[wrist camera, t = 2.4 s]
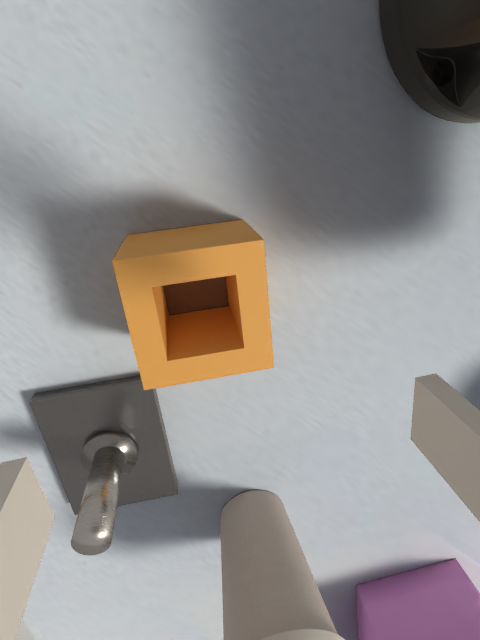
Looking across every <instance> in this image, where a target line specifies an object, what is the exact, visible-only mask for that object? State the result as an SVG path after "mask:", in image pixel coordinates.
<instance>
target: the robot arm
mask: <svg viewBox="0 0 480 640" xmlns="http://www.w3.org/2000/svg"><path fill="white" fill-rule="evenodd" d="M380 19H381V28H382V34H383V39H384V44H385V48H386V51H387V54H388V58H389V60H390V63H391V65H392V68H393V70H394V72H395V74H396V76H397V78H398V80H399V81H400V83H401V85H402V86H403V87H404V89H405V90H406V92H407V93H408V94H409V95H410V96H411V97H412V98H413V99H414V101H415V102H416V103H418V104H419V105H420V106H421V107H422V108H424V109H425V110H427V111H428V112H430V113H432V114H433V115H435V116H438V117H440V118H442V119H446V120H449V121H453V122H460V123H478V122H480V0H380ZM411 440H412V441H413V442H414V444H415V445H416V446H417V447H418V448H419V450H420V451H421V452H422V453H423V454H424V456H425V457H426V458H427V459H428V460H429V462H430V463H431V464H432V465H433V466H434V468H435V469H436V470H437V471H438V472H439V474H440V475H441V476H442V477H443V478H444V480H445V481H446V482H447V483H448V484H449V486H450V487H451V488H452V489H453V490H454V492H455V493H456V494H457V495H458V496H459V498H460V499H461V500H462V501H463V502H464V504H465V505H466V506H467V507H468V508H469V510H470V511H471V512H472V513H473V514H474V516H475V517H476V518H477V519H478V520H479V522H480V410H479V409H478V408H476V407H475V406H474V405H473V404H472V403H470V402H469V401H468V400H467V399H466V398H464V397H463V396H462V395H461V394H460V393H458V392H457V391H456V390H455V389H454V388H452V387H451V386H450V385H449V384H448V383H447V382H445V381H444V380H443V379H442V378H441V377H439V376H438V375H437V374H432V375H427V376H422V377H417V378H415V389H414V402H413V415H412V428H411ZM54 519H55V516H54V514H53V512H52V510H51V508H50V506H49V504H48V502H47V499H46V497H45V495H44V493H43V491H42V489H41V487H40V485H39V482H38V480H37V478H36V476H35V474H34V472H33V470H32V468H31V465H30V463H29V461H28V459H27V457H26V458H21V459H16V460H12V461H7V462H2V463H1V465H0V640H15V638H16V635H17V632H18V629H19V626H20V623H21V620H22V617H23V614H24V611H25V608H26V605H27V602H28V598H29V595H30V592H31V589H32V586H33V583H34V580H35V577H36V574H37V571H38V568H39V565H40V562H41V559H42V556H43V553H44V550H45V546H46V543H47V540H48V537H49V534H50V531H51V528H52V525H53V522H54Z"/></svg>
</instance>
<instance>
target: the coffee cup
mask: <svg viewBox="0 0 480 640" xmlns="http://www.w3.org/2000/svg"><path fill="white" fill-rule="evenodd" d="M220 527H221V560H222V594H223V631H224V640H345V639H344V638H342V637H341V636H339V635H338V634H337V632H336V629H335V627H334V625H333V622H332V620H331V618H330V615H329V613H328V611H327V608H326V606H325V603H324V601H323V599H322V596H321V594H320V592H319V589H318V587H317V584H316V582H315V580H314V577H313V575H312V573H311V570H310V568H309V565H308V563H307V561H306V558H305V556H304V553H303V551H302V549H301V546H300V544H299V541H298V539H297V537H296V534H295V532H294V529H293V527H292V525H291V522H290V520H289V517H288V515H287V513H286V510H285V508H284V505H283V503H282V501H281V500H280V498H279V497H278V496H276V495H275V494H273V493H271V492H268V491H264V490H252V491H247V492H244V493H241V494H239V495H237V496H235V497H234V498H232V499H231V500H230V501H229V502H228V503H227V504H226V505H225V506H224V508H223V509H222V512H221V516H220Z"/></svg>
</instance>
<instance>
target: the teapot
mask: <svg viewBox="0 0 480 640" xmlns="http://www.w3.org/2000/svg"><path fill="white" fill-rule="evenodd" d="M356 603H357V627H358V640H480V593H479V592H478V590H477V589H476V587H475V586H474V584H473V583H472V581H471V580H470V579H469V577H468V576H467V574H466V573H465V571H464V570H463V569H462V567H461V566H460V564H459V563H458V561H457V560H456V558H455V559H451V560H447V561H443V562H440V563H436V564H432V565H429V566H425V567H421V568H418V569H414V570H410V571H406V572H403V573H399V574H395V575H392V576H388V577H384V578H380V579H377V580H373V581H369V582H366V583H362V584H358V585H356Z"/></svg>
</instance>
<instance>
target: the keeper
mask: <svg viewBox="0 0 480 640" xmlns="http://www.w3.org/2000/svg"><path fill="white" fill-rule="evenodd" d="M30 405H31V407H32V410H33V412H34V415H35V417H36V420H37V422H38V425H39V427H40V430H41V432H42V435H43V437H44V440H45V442H46V445H47V447H48V450H49V452H50V455H51V457H52V459H53V462H54V464H55V467H56V469H57V472H58V474H59V477H60V479H61V482H62V484H63V487H64V489H65V492H66V494H67V497H68V499H69V502H70V504H71V506H72V509H73V511H74V514H75V515H76V514H78V517H77V521H76V525H75V528H74V532H73V536H72V540H71V546H72V548H73V549H74V550H75V551H76V552H78V553H80V554H83V555H97V554H100V553H102V552H104V551H106V550H107V549H108V548H109V546H110V544H111V539H112V533H113V527H114V521H115V515H116V509H117V506H121V505H126V504H130V503H135V502H140V501H145V500H150V499H155V498H160V497H165V496H170V495H175V494H178V483H177V479H176V474H175V470H174V466H173V462H172V457H171V453H170V449H169V444H168V440H167V436H166V432H165V427H164V423H163V419H162V414H161V410H160V406H159V402H158V397H157V393H156V389H155V388H154V389H149V390H144V388H143V384H142V380H141V376H134V377H128V378H123V379H117V380H111V381H105V382H99V383H93V384H87V385H82V386H76V387H70V388H64V389H58V390H52V391H46V392H41V393H35V394H34V396H33V398H32V399H31V401H30Z"/></svg>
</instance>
